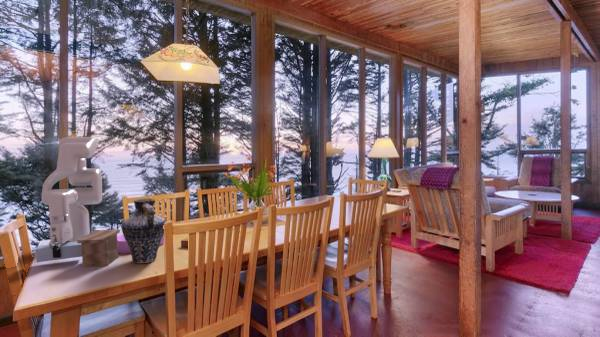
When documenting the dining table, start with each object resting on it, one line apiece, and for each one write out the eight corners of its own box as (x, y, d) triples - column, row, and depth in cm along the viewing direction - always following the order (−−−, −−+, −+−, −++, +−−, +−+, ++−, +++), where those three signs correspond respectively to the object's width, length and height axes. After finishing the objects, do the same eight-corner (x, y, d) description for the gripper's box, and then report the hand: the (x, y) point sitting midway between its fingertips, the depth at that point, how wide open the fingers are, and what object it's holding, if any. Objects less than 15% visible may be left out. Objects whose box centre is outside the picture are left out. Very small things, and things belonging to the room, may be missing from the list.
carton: (180, 247, 183) (180, 240, 183) (196, 239, 199) (196, 232, 198) (194, 248, 181) (194, 241, 181) (209, 240, 197) (209, 233, 196)
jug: (116, 261, 162) (113, 199, 159) (155, 250, 177) (153, 194, 174) (135, 271, 149) (132, 205, 146) (176, 259, 164) (174, 199, 161)
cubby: (79, 269, 152) (77, 240, 151) (98, 256, 169) (96, 230, 168) (104, 268, 153) (102, 239, 152) (120, 255, 170) (119, 229, 169)
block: (36, 262, 153) (35, 249, 153) (40, 257, 159) (39, 245, 158) (83, 256, 161) (82, 244, 160) (85, 252, 166) (84, 240, 166)
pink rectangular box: (117, 255, 170) (116, 230, 169) (113, 247, 182) (112, 224, 181) (168, 246, 185) (167, 222, 184) (161, 239, 197) (160, 217, 196)
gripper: (56, 223, 149) (59, 261, 151) (78, 213, 167) (81, 247, 169) (38, 223, 149) (41, 261, 151) (62, 213, 166) (65, 248, 168)
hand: (62, 254), depth 160 cm, fingers closed on block, 7 cm apart
